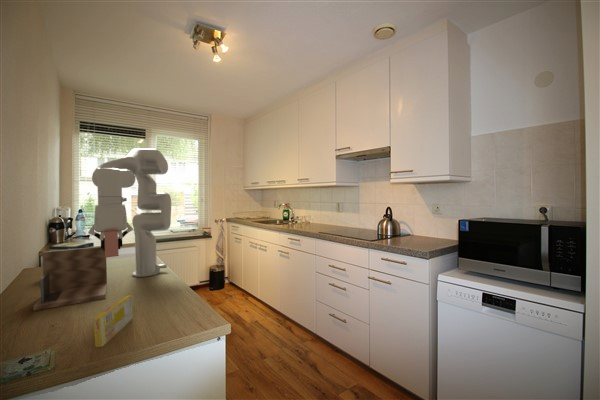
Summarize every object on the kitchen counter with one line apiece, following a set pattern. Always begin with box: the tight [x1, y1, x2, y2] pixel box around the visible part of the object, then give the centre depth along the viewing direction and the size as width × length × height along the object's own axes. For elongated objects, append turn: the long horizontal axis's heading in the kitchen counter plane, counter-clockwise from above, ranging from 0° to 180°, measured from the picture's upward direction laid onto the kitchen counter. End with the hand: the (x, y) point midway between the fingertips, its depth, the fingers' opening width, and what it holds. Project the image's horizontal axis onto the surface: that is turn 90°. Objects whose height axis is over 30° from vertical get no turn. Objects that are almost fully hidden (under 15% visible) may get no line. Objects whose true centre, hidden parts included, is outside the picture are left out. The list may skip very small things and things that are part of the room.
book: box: [104, 231, 119, 259], centre depth 104 cm, size 4×10×9 cm, turn 33°
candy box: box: [93, 294, 134, 348], centre depth 83 cm, size 16×2×8 cm, turn 5°
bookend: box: [39, 272, 62, 303], centre depth 107 cm, size 4×11×9 cm, turn 33°
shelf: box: [32, 246, 108, 311], centre depth 111 cm, size 21×18×18 cm
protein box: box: [48, 242, 95, 251], centre depth 145 cm, size 10×16×16 cm
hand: (111, 249), depth 105 cm, fingers closed on book, 4 cm apart
